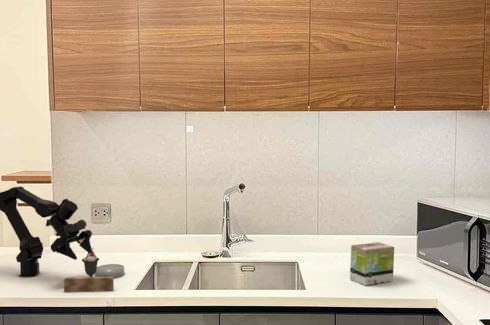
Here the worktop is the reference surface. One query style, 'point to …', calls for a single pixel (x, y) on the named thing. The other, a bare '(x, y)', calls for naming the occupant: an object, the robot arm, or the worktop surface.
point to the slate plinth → (110, 271)
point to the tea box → (371, 263)
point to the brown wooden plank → (88, 284)
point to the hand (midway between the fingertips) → (84, 256)
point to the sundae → (90, 263)
